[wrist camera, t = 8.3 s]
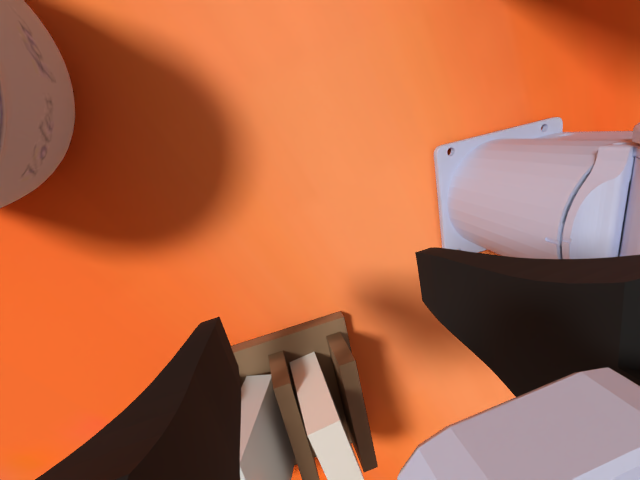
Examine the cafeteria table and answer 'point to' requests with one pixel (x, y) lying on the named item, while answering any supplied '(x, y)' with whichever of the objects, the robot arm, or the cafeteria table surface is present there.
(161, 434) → the robot arm
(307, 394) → the white upright slab
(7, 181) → the teacup
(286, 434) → the racked plate
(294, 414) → the rack
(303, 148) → the cafeteria table surface
